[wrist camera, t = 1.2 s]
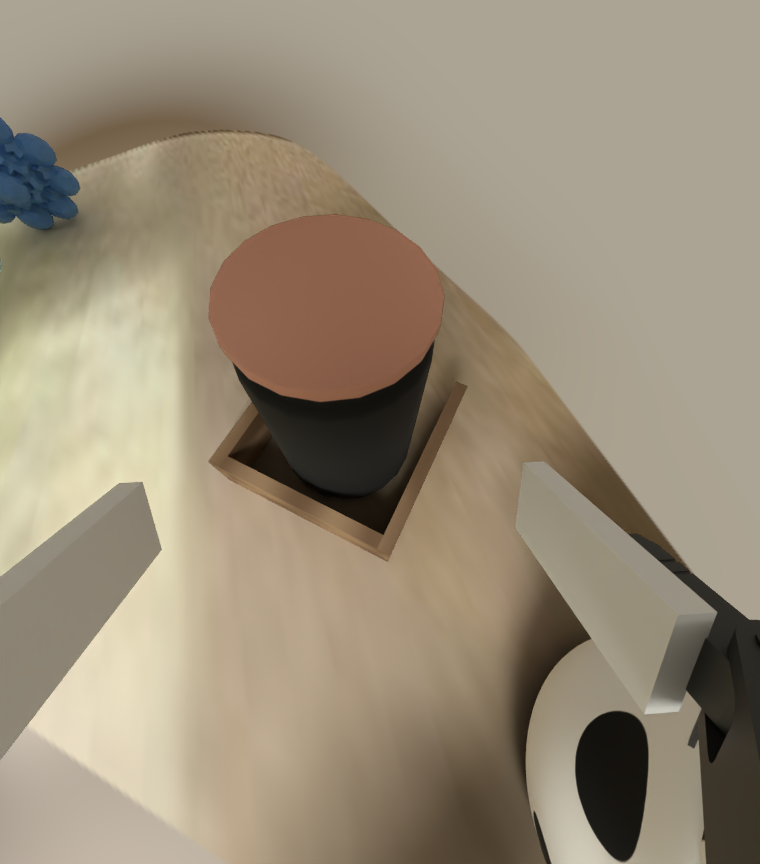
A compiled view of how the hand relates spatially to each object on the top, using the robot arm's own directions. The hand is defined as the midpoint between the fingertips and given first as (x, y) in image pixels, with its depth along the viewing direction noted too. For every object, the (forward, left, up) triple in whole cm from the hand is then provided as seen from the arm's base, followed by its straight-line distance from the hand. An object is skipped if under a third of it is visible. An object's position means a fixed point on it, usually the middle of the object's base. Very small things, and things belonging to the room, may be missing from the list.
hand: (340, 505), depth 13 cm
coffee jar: (-5, +8, -18) cm, 20 cm away
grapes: (-49, +16, -18) cm, 55 cm away
